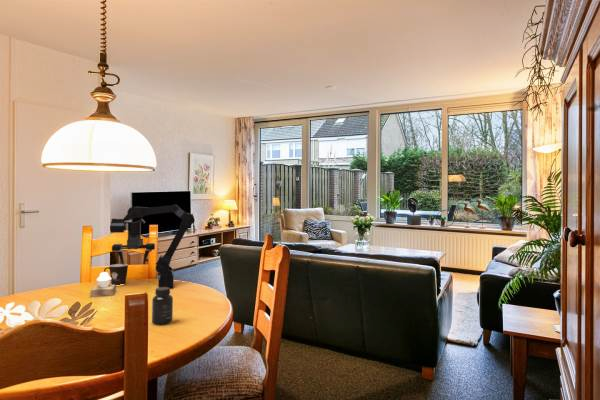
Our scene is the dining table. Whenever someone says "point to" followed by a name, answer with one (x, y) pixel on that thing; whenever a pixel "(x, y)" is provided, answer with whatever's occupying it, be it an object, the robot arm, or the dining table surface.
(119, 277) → the coffee mug
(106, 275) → the muffin
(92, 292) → the brown flat block
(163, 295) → the supplement bottle
